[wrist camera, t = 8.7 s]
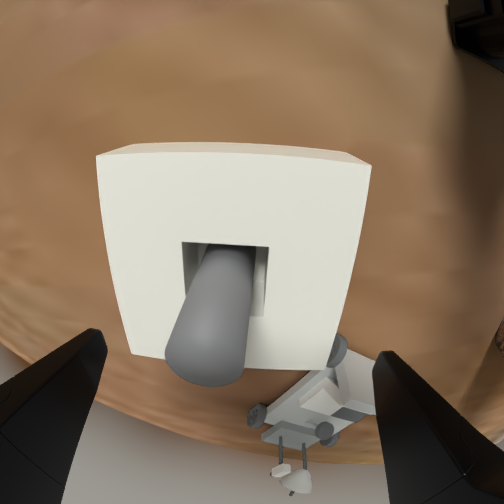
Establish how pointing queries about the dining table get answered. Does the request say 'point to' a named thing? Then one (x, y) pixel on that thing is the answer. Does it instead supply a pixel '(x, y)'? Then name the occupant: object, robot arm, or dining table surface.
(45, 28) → the dining table surface
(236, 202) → the socket block
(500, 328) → the book
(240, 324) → the peg
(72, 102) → the dining table surface
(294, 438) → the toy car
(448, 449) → the robot arm
